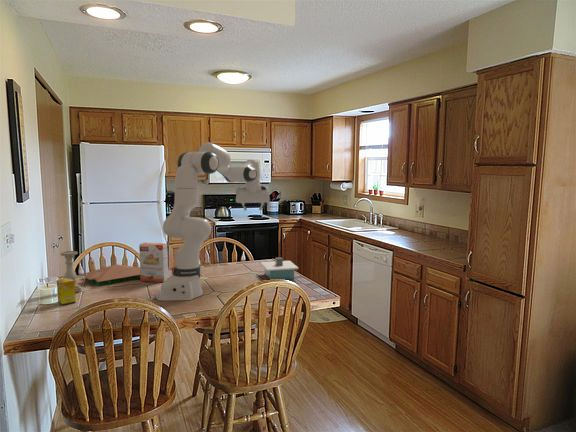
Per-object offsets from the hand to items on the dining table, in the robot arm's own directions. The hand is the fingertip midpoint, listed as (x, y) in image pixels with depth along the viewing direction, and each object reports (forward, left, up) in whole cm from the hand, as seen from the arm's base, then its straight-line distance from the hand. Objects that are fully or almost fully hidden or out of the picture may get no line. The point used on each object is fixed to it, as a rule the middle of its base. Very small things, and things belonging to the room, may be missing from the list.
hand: (252, 210), depth 249 cm
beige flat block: (-78, +1, -38) cm, 87 cm away
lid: (+12, -18, -31) cm, 38 cm away
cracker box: (-58, -10, -37) cm, 69 cm away
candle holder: (-97, -21, -37) cm, 106 cm away
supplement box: (-95, -39, -37) cm, 109 cm away
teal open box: (+12, -18, -37) cm, 43 cm away
